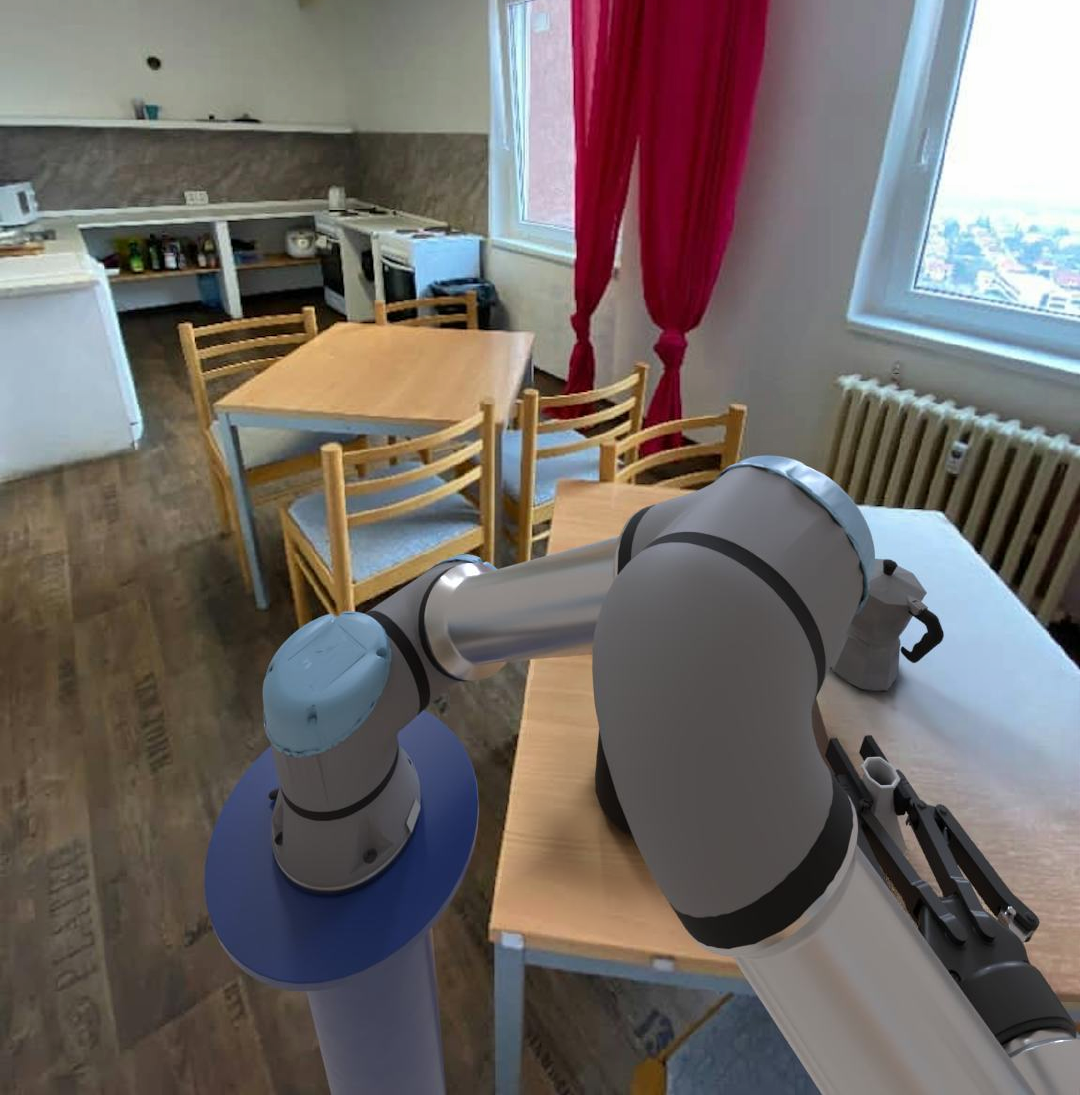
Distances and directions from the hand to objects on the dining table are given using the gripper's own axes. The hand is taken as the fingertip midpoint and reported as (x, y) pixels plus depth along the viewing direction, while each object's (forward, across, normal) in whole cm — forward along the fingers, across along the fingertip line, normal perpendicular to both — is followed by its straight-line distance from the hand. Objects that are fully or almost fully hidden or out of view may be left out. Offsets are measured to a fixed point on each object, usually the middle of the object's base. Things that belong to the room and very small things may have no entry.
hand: (848, 745), depth 65 cm
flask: (-5, 0, -7) cm, 9 cm away
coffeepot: (+16, +14, -8) cm, 23 cm away
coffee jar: (+2, -22, -8) cm, 23 cm away
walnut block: (+6, -5, -8) cm, 12 cm away
